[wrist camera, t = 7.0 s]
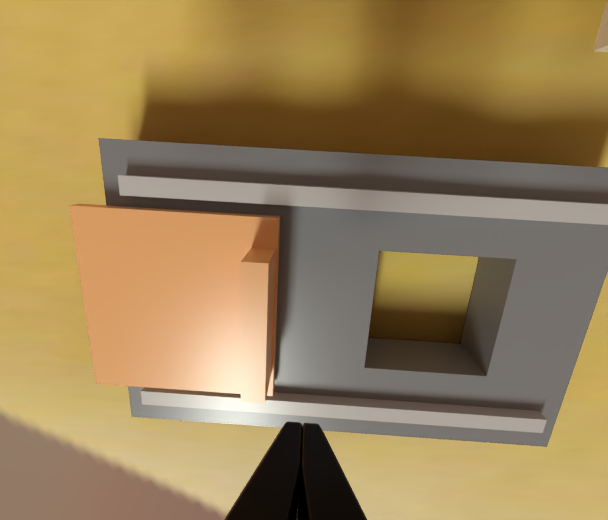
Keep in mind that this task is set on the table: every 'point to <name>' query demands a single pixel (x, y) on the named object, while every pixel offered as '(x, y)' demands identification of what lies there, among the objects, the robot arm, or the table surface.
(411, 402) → the socket block
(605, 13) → the plug
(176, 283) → the shutter
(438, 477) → the table surface
